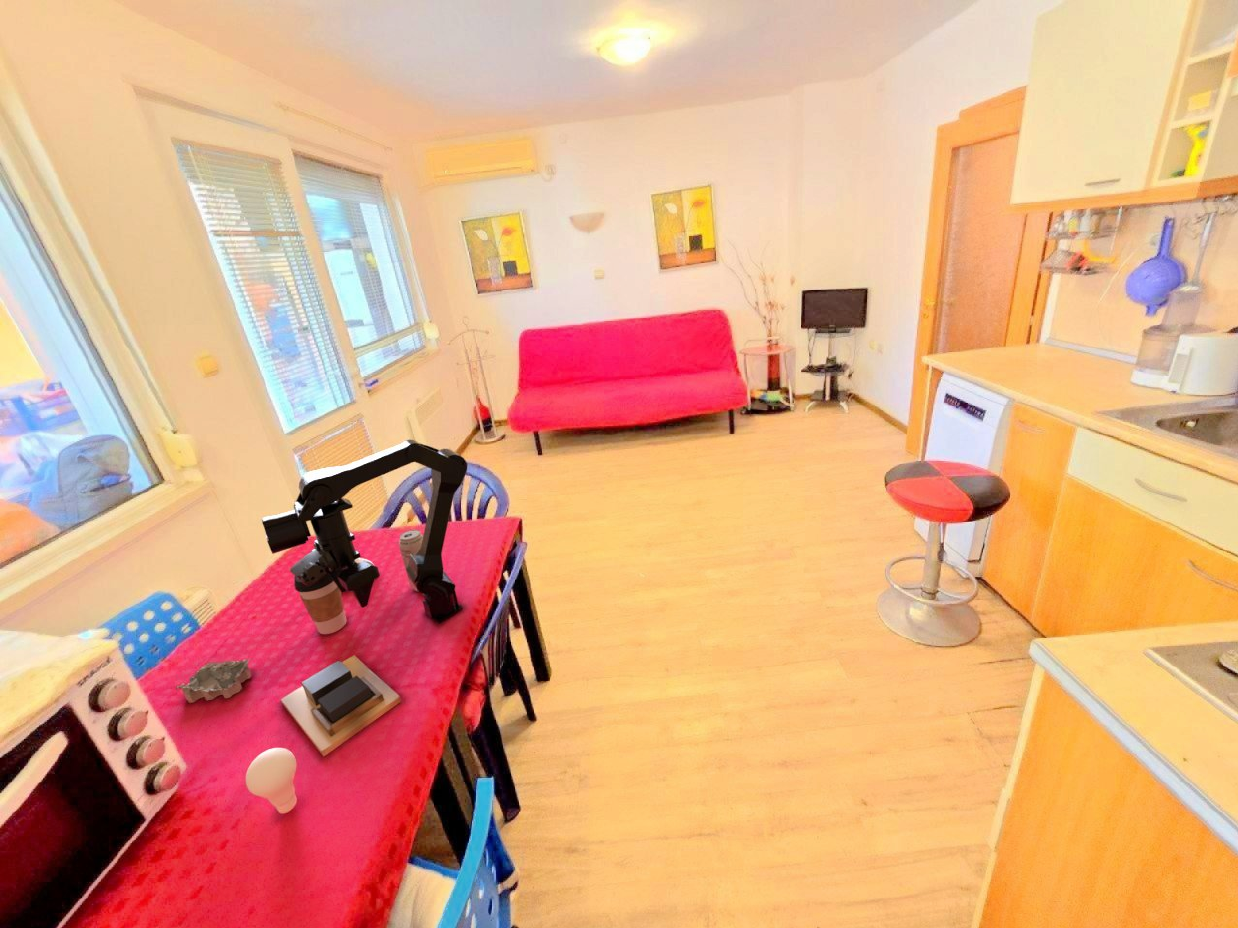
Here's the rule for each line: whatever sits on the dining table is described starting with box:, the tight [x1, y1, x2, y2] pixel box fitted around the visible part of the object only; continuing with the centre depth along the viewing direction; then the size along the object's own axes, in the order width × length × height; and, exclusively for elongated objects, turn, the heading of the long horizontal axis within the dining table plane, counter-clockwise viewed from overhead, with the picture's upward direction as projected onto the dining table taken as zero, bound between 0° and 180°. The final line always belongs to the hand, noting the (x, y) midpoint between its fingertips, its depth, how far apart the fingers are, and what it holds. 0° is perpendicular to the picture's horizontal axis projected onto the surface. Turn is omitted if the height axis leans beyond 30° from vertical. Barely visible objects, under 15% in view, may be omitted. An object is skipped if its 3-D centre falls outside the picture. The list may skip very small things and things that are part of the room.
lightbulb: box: [245, 747, 298, 814], centre depth 74 cm, size 6×6×11 cm
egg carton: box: [175, 658, 252, 704], centre depth 101 cm, size 11×8×4 cm
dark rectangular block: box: [318, 676, 372, 724], centre depth 91 cm, size 7×5×4 cm
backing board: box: [279, 654, 402, 757], centre depth 94 cm, size 14×19×4 cm
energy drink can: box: [398, 529, 424, 593], centre depth 126 cm, size 6×6×15 cm
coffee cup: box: [293, 573, 347, 635], centre depth 114 cm, size 8×8×15 cm
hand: (354, 598), depth 105 cm, fingers open, 9 cm apart
